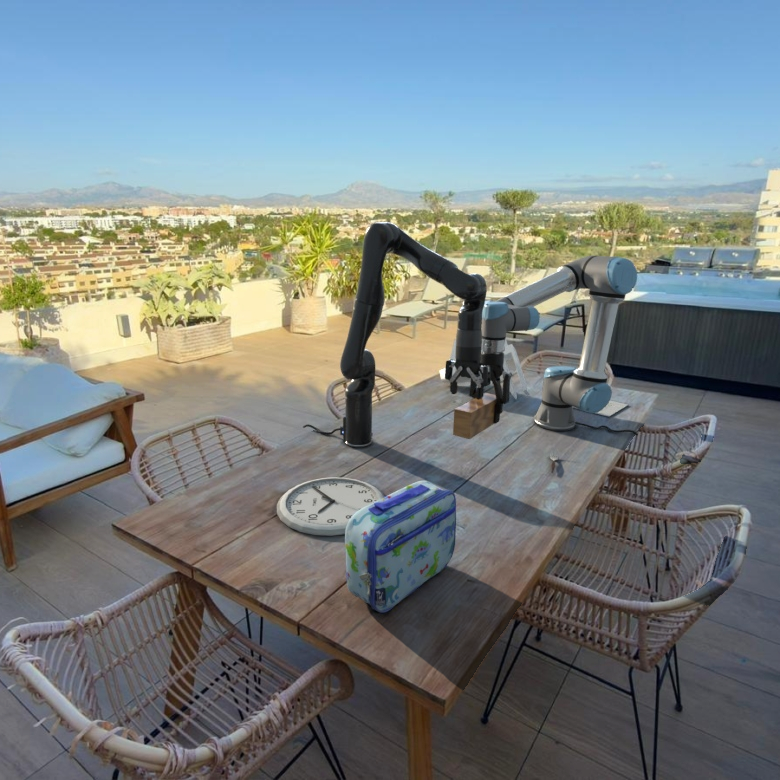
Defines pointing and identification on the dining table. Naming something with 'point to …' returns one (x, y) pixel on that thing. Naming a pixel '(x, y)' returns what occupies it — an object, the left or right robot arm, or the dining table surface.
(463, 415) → the box
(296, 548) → the dining table surface
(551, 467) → the fork
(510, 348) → the white plastic object
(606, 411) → the invitation card
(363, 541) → the lunch box
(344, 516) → the wall clock
